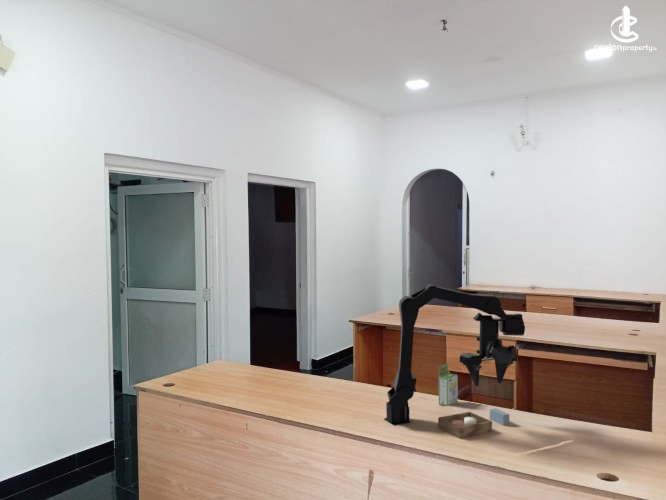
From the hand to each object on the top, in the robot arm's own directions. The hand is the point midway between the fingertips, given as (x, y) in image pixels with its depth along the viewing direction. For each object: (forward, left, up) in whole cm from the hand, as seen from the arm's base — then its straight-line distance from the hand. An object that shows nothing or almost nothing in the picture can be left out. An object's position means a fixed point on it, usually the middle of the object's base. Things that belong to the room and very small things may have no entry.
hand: (488, 384), depth 163 cm
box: (-11, -3, -12) cm, 17 cm away
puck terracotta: (-14, -3, -12) cm, 18 cm away
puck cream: (-9, -2, -12) cm, 15 cm away
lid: (+2, -2, -13) cm, 13 cm away
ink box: (+1, +21, -12) cm, 24 cm away
